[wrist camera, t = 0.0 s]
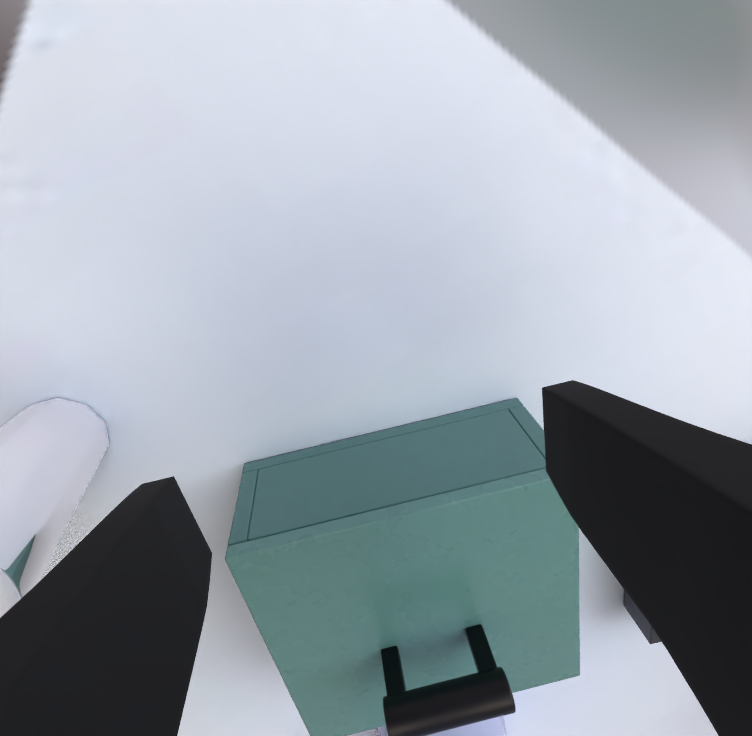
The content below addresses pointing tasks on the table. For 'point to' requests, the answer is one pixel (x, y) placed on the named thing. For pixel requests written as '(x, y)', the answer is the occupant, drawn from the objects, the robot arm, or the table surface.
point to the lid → (420, 607)
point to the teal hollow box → (386, 469)
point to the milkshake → (42, 486)
